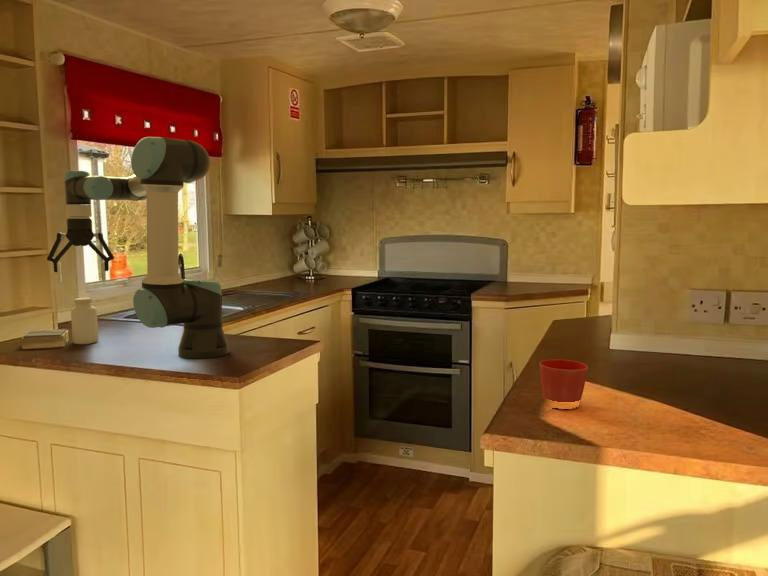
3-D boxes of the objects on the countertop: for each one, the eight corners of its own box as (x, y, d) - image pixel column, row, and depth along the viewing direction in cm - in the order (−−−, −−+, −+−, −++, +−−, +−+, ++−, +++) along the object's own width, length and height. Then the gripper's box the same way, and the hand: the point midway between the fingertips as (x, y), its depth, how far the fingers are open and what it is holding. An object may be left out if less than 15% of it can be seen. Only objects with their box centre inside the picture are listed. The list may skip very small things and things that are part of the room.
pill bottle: (68, 342, 221) (66, 298, 219) (92, 339, 226) (90, 296, 225) (78, 345, 215) (76, 300, 213) (102, 342, 221) (100, 298, 219)
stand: (63, 346, 213) (62, 334, 213) (22, 349, 210) (21, 336, 209) (68, 340, 225) (68, 328, 224) (30, 342, 221) (29, 330, 221)
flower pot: (576, 398, 155) (578, 358, 154) (593, 412, 144) (595, 369, 143) (532, 398, 155) (533, 358, 153) (545, 412, 144) (547, 369, 143)
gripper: (120, 217, 223) (123, 279, 226) (39, 217, 216) (43, 281, 218) (118, 218, 216) (121, 281, 219) (35, 217, 209) (38, 283, 211)
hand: (82, 281), depth 219 cm, fingers open, 13 cm apart
